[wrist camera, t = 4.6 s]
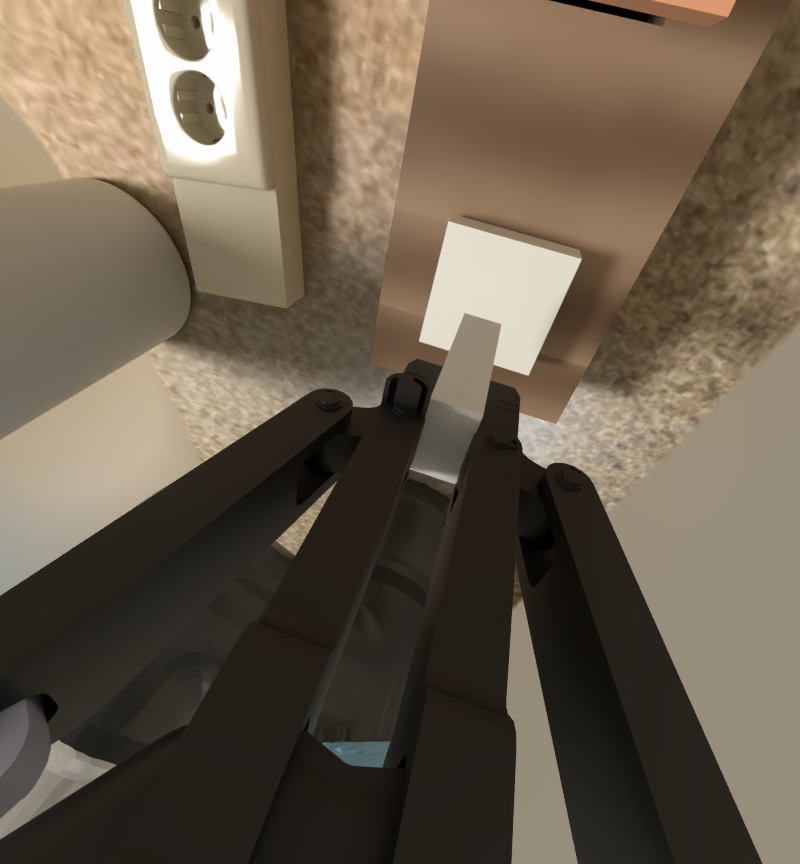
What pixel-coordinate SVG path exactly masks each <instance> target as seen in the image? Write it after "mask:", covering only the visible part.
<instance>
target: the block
mask: <svg viewBox="0 0 800 864" xmlns="http://www.w3.org/2000/svg"><path fill="white" fill-rule="evenodd" d="M790 2H791V0H736V2H735V4H734V6H733V8H732V10H731V12H730V14H729V16H728V17H727V18H725V19H723V20H721V21H720V22H718V23H716V24H714V25H712V26H710V27H705V26H701V25H696V24H692V23H687V22H683V21H679V20H674V19H670V18H665V17H661V16H657V15H652V14H649V16H648V19H647V21H646V22H641V21H637V20H632V19H628V18H624V17H619V16H615V15H611V14H606V13H602V12H597V11H593V10H589V9H584V8H580V7H576V6H571V5H567V4H562V3H558V2H554V1H549V0H430V2H429V8H428V14H427V20H426V26H425V32H424V38H423V44H422V50H421V56H420V61H419V67H418V73H417V79H416V85H415V91H414V97H413V103H412V109H411V115H410V121H409V127H408V133H407V139H406V145H405V151H404V157H403V163H402V169H401V174H400V180H399V186H398V192H397V198H396V204H395V210H394V216H393V222H392V228H391V234H390V240H389V246H388V252H387V258H386V264H385V270H384V276H383V282H382V288H381V293H380V299H379V305H378V311H377V317H376V323H375V329H374V335H373V341H372V347H371V353H370V359H369V364H372V365H375V366H378V367H382V368H385V369H388V370H391V371H394V372H397V373H403V372H404V370H405V369H406V367H407V365H408V363H410V362H412V361H414V360H416V359H421V360H424V361H427V362H430V363H433V364H436V365H440V366H444V363H445V361H446V358H447V356H448V353H449V351H448V350H445V349H442V348H438V347H435V346H432V345H429V344H426V343H423V342H419V339H420V335H421V330H422V326H423V322H424V318H425V314H426V310H427V306H428V302H429V298H430V294H431V290H432V286H433V282H434V278H435V274H436V270H437V266H438V262H439V257H440V253H441V249H442V245H443V241H444V237H445V233H446V229H447V225H448V221H449V220H450V219H451V218H452V217H453V216H454V215H458V216H462V217H465V218H469V219H473V220H476V221H480V222H483V223H487V224H490V225H494V226H497V227H501V228H504V229H508V230H511V231H515V232H518V233H522V234H526V235H529V236H533V237H536V238H540V239H543V240H547V241H550V242H554V243H557V244H561V245H564V246H568V247H572V248H575V249H579V250H580V253H581V257H582V260H581V262H580V264H579V267H578V269H577V271H576V273H575V275H574V278H573V280H572V282H571V284H570V286H569V288H568V291H567V293H566V295H565V297H564V299H563V302H562V304H561V306H560V308H559V310H558V312H557V315H556V317H555V319H554V321H553V323H552V325H551V328H550V330H549V332H548V334H547V336H546V339H545V341H544V343H543V345H542V347H541V349H540V352H539V354H538V356H537V358H536V360H535V363H534V365H533V367H532V369H531V371H530V373H529V376H527V375H524V374H521V373H518V372H515V371H512V370H508V369H505V368H502V367H499V366H496V365H493V369H492V374H491V379H490V380H491V381H494V382H497V383H501V384H504V385H507V386H510V387H513V388H516V390H517V392H518V394H519V396H520V398H521V399H520V407H519V408H520V411H519V412H521V413H524V414H527V415H530V416H533V417H536V418H539V419H542V420H545V421H549V422H552V423H555V424H556V423H557V421H558V419H559V418H560V416H561V414H562V412H563V410H564V409H565V407H566V405H567V403H568V401H569V400H570V398H571V396H572V394H573V392H574V391H575V389H576V387H577V385H578V383H579V382H580V380H581V378H582V376H583V374H584V373H585V371H586V369H587V367H588V365H589V364H590V362H591V360H592V358H593V356H594V355H595V353H596V351H597V349H598V347H599V346H600V344H601V342H602V340H603V338H604V337H605V335H606V333H607V331H608V329H609V328H610V326H611V324H612V322H613V320H614V319H615V317H616V315H617V313H618V311H619V310H620V308H621V306H622V304H623V302H624V301H625V299H626V297H627V295H628V293H629V292H630V290H631V288H632V286H633V284H634V283H635V281H636V279H637V277H638V276H639V274H640V272H641V270H642V268H643V267H644V265H645V263H646V261H647V259H648V258H649V256H650V254H651V252H652V250H653V249H654V247H655V245H656V243H657V241H658V240H659V238H660V236H661V234H662V232H663V231H664V229H665V227H666V225H667V223H668V222H669V220H670V218H671V216H672V214H673V213H674V211H675V209H676V207H677V205H678V204H679V202H680V200H681V198H682V196H683V195H684V193H685V191H686V189H687V187H688V186H689V184H690V182H691V180H692V178H693V177H694V175H695V173H696V171H697V169H698V168H699V166H700V164H701V162H702V160H703V159H704V157H705V155H706V153H707V151H708V150H709V148H710V146H711V144H712V142H713V141H714V139H715V137H716V135H717V133H718V132H719V130H720V128H721V126H722V124H723V123H724V121H725V119H726V117H727V115H728V114H729V112H730V110H731V108H732V106H733V105H734V103H735V101H736V99H737V97H738V96H739V94H740V92H741V90H742V88H743V87H744V85H745V83H746V81H747V80H748V78H749V76H750V74H751V72H752V71H753V69H754V67H755V65H756V63H757V62H758V60H759V58H760V56H761V54H762V53H763V51H764V49H765V47H766V45H767V44H768V42H769V40H770V38H771V36H772V35H773V33H774V31H775V29H776V27H777V26H778V24H779V22H780V20H781V18H782V17H783V15H784V13H785V11H786V9H787V8H788V6H789V4H790Z"/></svg>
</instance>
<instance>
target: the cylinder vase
mask: <svg viewBox="0 0 800 864" xmlns="http://www.w3.org/2000/svg"><path fill="white" fill-rule="evenodd" d="M190 303H191V292H190V284H189V279H188V275H187V272H186V268H185V266H184V263H183V260H182V258H181V256H180V254H179V252H178V250H177V248H176V246H175V244H174V243H173V241H172V239H171V238H170V236H169V235H168V233H167V232H166V230H165V229H164V228H163V226H162V225H161V224H160V223H159V221H158V220H157V219H156V218H155V217H154V216H153V215H152V214H151V213H150V212H149V211H148V210H147V209H146V208H145V207H144V206H143V205H142V204H141V203H139V202H138V201H137V200H136V199H134V198H133V197H132V196H130V195H129V194H127V193H126V192H124V191H122V190H121V189H119V188H117V187H115V186H113V185H111V184H108V183H106V182H103V181H100V180H96V179H92V178H70V179H63V180H56V181H49V182H42V183H34V184H28V185H21V186H14V187H6V188H0V439H2V438H4V437H5V436H7V435H9V434H10V433H12V432H14V431H15V430H17V429H19V428H20V427H22V426H24V425H25V424H27V423H29V422H30V421H32V420H34V419H35V418H37V417H39V416H40V415H42V414H44V413H45V412H47V411H49V410H50V409H52V408H54V407H55V406H57V405H59V404H60V403H62V402H64V401H65V400H67V399H69V398H70V397H72V396H74V395H75V394H77V393H79V392H80V391H82V390H84V389H85V388H87V387H89V386H90V385H92V384H94V383H95V382H97V381H99V380H100V379H102V378H104V377H105V376H107V375H109V374H110V373H112V372H114V371H115V370H117V369H119V368H120V367H122V366H124V365H125V364H127V363H129V362H130V361H132V360H134V359H135V358H137V357H139V356H140V355H142V354H144V353H145V352H147V351H149V350H150V349H152V348H154V347H155V346H157V345H159V344H160V343H162V342H164V341H165V340H167V339H169V338H170V337H172V336H174V335H175V334H176V333H177V332H178V331H179V330H180V329H181V328H182V327H183V325H184V324H185V322H186V320H187V317H188V314H189V310H190Z"/></svg>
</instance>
